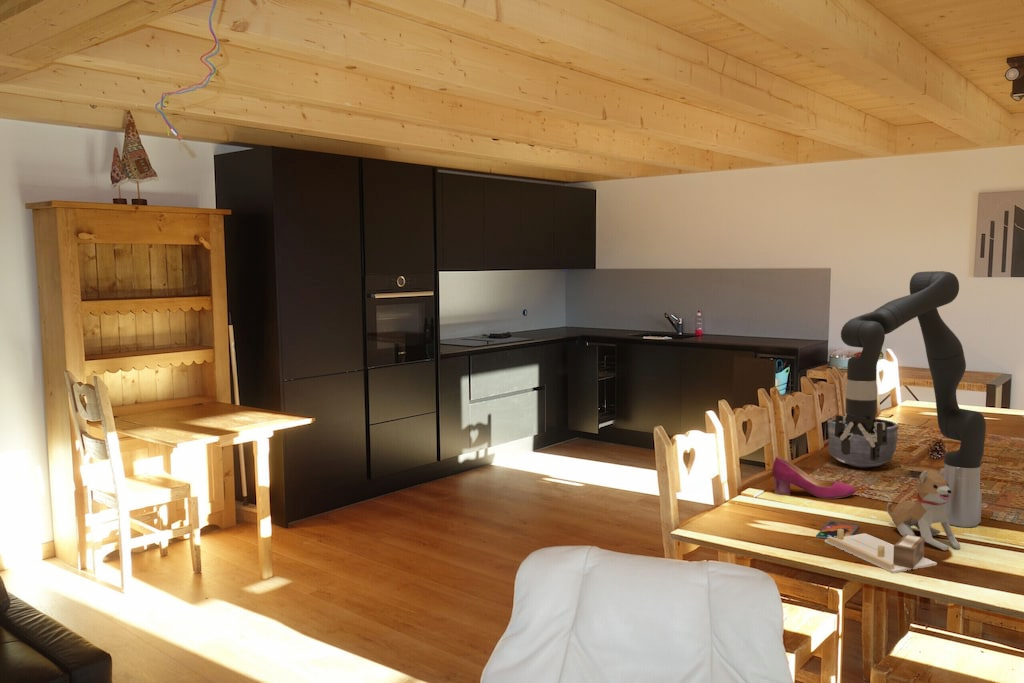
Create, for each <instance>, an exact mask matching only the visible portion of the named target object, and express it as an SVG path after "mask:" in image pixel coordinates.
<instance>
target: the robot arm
mask: <svg viewBox="0 0 1024 683" xmlns="http://www.w3.org/2000/svg"><path fill="white" fill-rule="evenodd" d="M959 290H960V283H959V279H958V277H957V276H956V274H954V273H953V272H950V271H944V270H941V271H939V270H937V271H935V270H934V271H933V270H932V271H931V270H930V271H918V272H916V273H914V274H913V275H912V276H911V278H910V280H909V293H910V294H908V295H904V296H902V297H898V298H895V299H893V300H890V301H888V302H886V303H884V304H883V305H881V306H879V307H878V308H876V309H874V310H873V311H870V312H868V313H865V314H862V315H859V316H856V317H853V318H852V319H851V318H850V319H849V320H848V321H847V322H845V324H843V326H842V329H841V330H840V338H841V341H842V342H843V343H844V344H845V345H846V346H849V347H852V348H862V350H861V353H860V354H859V355H856V356H852V357H850V358H848V361H847V365H846V367H847V368H846V369H847V370H846V384H845V414H838V415H836V416H835V418H836V421H835V437H839V438H840V439H841V451H842V454H844V455H848V454H850V440H849V439H850V438H851V436H852V435H853V434H855V435H857V434H858V435H860V436H865V438H866V440H868V441H869V443H870V445H871V446H872V447H871V449H870V460H871V461H877V460H878V459H879V457H880V446H883V445H887V423H886V422H881V423H880V422H876V420H875V419H876V416H877V412H878V411H877V408H878V405H877V404H878V385H877V371H878V370H877V368H878V367H877V366H878V365H877V364H878V362H879V360H880V359H879V358H880V356H881V352H882V349H883V346H884V344H885V335H888V334H890V333H892V332H894V331H895V330H897V329H898V328H900V327H901V326H903V325H904V324H906V323H908V322H909V321H912V320H914V319H915V318H917V320H918V323H919V327H920V331H921V334H922V339H923V343H924V346H925V353H926V358H927V362H928V367H929V372H930V375H931V380H932V385H933V391H934V396H935V406H936V415H937V417H936V418H937V424H938V428H939V431H940V433H941V435H942V436H944V438H946V439H949V440H953V441H958V442H960V445H959V449H957V450H951V451H947V452H946V453H944V456H943V462H944V463H943V468H944V470H945V476H944V479H945V480H946V482H947V484H948V485H949V486H948V487H949V489H950V490H951V494H950V499H949V500H948V501H947V502H946V517H947V520H948V523H949V525H950V526H956V527H959V528H960V527H963V528H973V527H977V526H978V525H979V524H981V523H982V521H981V519H982V500H983V499H982V498H983V497H982V496H983V492H982V490H980V488H981V487H980V485H981V465H982V464H981V463H982V459H983V456H984V453H985V442H986V433H987V425H986V424H987V422H986V418H985V416H984V415H983V414H982V413H981V412H979V411H975V410H972V409H965V408H964V409H963V408H960V407H959V404H958V403H959V402H958V400H957V389H958V386H959V384H960V383H961V381H962V379H963V377H964V374H965V372H966V368H967V363H966V359H965V358H966V357H965V351H964V349H963V345H962V342H961V341H960V340H959V337H958V336H957V335H956V334H955V333H954V331H952V330H951V329H950V327H949V326H948V325H947V323H945V322H944V320H943V318H942V317H941V315H940V313H939V311H938V308H940V307H943V306H946V305H949V304H951V303H952V302H954V301H955V299H956V298H957V296H958V294H959ZM845 423H847V425H848V426H847V428H846V429H845ZM875 427H876V428H875ZM874 428H875V429H876V430H877V433H876V431H875V429H874ZM870 433H871V434H872V435H870Z"/></svg>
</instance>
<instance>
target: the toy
mask: <svg viewBox="0 0 1024 683" xmlns="http://www.w3.org/2000/svg"><path fill="white" fill-rule="evenodd" d="M944 476H945V470H944V467H940V468H939V470H938V472H936V471H934V470H933V471H932V470H929V471H927V470H925V469H923V470H922V471H921V473H920V474H919V476H918V478H919V479H918V481H917V484H916V486H917V487H916V489H917V494H916V498H917V500H916V501H913V500H909V499H907V500H904V501H900V502H898V503H897V504H896V506H895V507H894V509H892V506H893V502H888V503H887V505H886V510H887V514H888V515H889V516H890V518H891V521H892V522H893V524H894V525H895V527H896V529H897V531H898V532H899V534H900V535H901V536H902V537H903V536H904V535H905V534H908V535H913V536H917V535H916V534H915V531H914V530H913V529H912V527H915V528H917V529H918V530H919V532H920V537H924V538H925V542H924V543H927V544H929V545H932V546H933V547H936V548H938V549H940V550H942V551H948V550H949V546H948V545H947V544H945V543H943V542H941V541H939V540H937V539H934V538H933V537H935V536H937V535H939V534H941V532H942V531H940V530H939V529H937V528H935V527H933V526H932V524H938V523H940V524H941V526H942V529H943V530H944V533H945V535H946V537H947V539H948V541H949V542H950V544H951V546H952V548H953V549H957V550H958V549H960V548H961V545H960V543H959V542H958V540H957V538H956V537H955V534H954V533H953V530H952V527H951V525H950V524H949V523H948V520H947V517H946V502H947V501H948V500H949V499H950V494H951V490H950V489H949V487H948V486H949V485H948V484H947V482H946V480H945V479H944Z"/></svg>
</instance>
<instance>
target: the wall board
mask: <svg viewBox="0 0 1024 683" xmlns="http://www.w3.org/2000/svg"><path fill="white" fill-rule="evenodd" d="M824 543H826V544H828V545H830V546H833V547H834V546H835V548H837V549H839V550H841V551H843V550H844V552H846V553H848V554H850V555H852V554H853V556H855V557H857V558H859V559H861V560H864V561H866V562H868V563H870V564H872V565H874V566H876V567H879V568H881V569H884V570H886V571H887V572H890V573H892V574H898V573H903V572H906V571H907V570H908V571H912V570H911V569H912V568H907V567H902V566H898V565H894V564H893V557H894V545H895V544H891V543H889V542H888V541H885V540H882V539H880V538H878V537H875V536H873V535H870V534H868V533H865V532H864V533H858V534H853V535H851V536H845V537H844V530H843V529H838V530H837V538H834V537H831V536H829V537H827V539H824ZM937 565H938V562H936V561H933V560H931V559H929V558H927V557H924V556H923V558H922V559H921V560H920V561H919V562H918V563H917V564H916V566H915V567H914V568H913V570H918V568H919V569H923V568H929V567H933V566H937Z"/></svg>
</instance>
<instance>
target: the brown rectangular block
mask: <svg viewBox="0 0 1024 683" xmlns="http://www.w3.org/2000/svg"><path fill="white" fill-rule="evenodd" d="M925 543H926V542H925V538H924V537H921V536H917V535H916V536H913V535H908V534H905V535H904V536H902V537H901V538H900V539H899V540H897V542H896V543H895V544H893V545H894V557H893V564H894V565H898V566H902V567H907V568H912V569H913V568H914V567H915V566H916V564H917V563H918V562H919V561H920V560H921V559H922V558H923V557H924V556H925ZM913 570H914V569H913Z"/></svg>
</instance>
